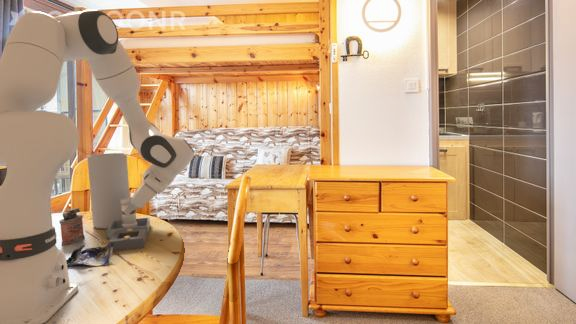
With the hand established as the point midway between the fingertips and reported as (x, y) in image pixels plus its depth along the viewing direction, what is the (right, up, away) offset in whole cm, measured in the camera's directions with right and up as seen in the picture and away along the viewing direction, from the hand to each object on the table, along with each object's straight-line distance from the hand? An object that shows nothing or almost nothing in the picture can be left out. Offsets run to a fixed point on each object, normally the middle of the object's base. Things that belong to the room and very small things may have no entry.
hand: (126, 211), depth 127 cm
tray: (+1, -7, +1) cm, 7 cm away
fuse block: (+6, -8, -12) cm, 16 cm away
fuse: (+1, -5, +1) cm, 5 cm away
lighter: (-13, -9, -7) cm, 17 cm away
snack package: (+1, -11, -26) cm, 28 cm away
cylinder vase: (-10, -6, +11) cm, 16 cm away
